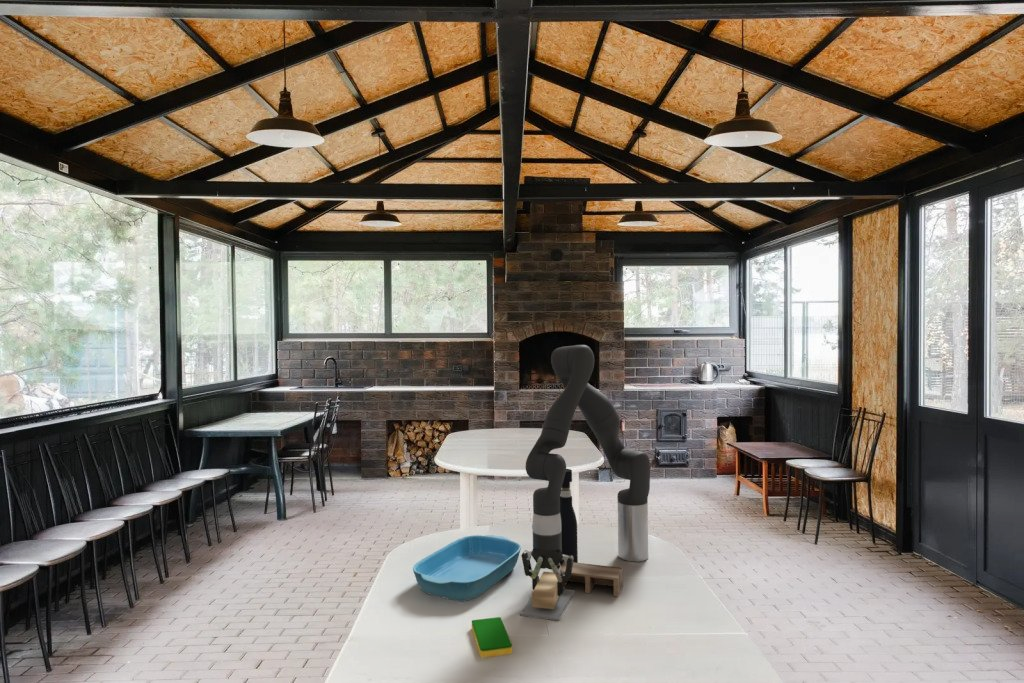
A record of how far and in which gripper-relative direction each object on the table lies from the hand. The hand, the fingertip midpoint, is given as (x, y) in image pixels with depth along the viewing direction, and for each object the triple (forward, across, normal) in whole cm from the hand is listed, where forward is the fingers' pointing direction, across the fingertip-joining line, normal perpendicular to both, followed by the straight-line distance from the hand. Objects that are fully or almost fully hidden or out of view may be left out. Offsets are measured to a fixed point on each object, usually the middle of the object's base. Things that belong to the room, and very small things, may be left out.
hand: (548, 593), depth 162 cm
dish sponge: (+3, +8, +22) cm, 24 cm away
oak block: (+1, 0, 0) cm, 1 cm away
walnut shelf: (+3, -8, -12) cm, 15 cm away
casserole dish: (+3, +26, -9) cm, 28 cm away
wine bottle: (+3, 0, -22) cm, 22 cm away
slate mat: (+3, 0, 0) cm, 3 cm away
